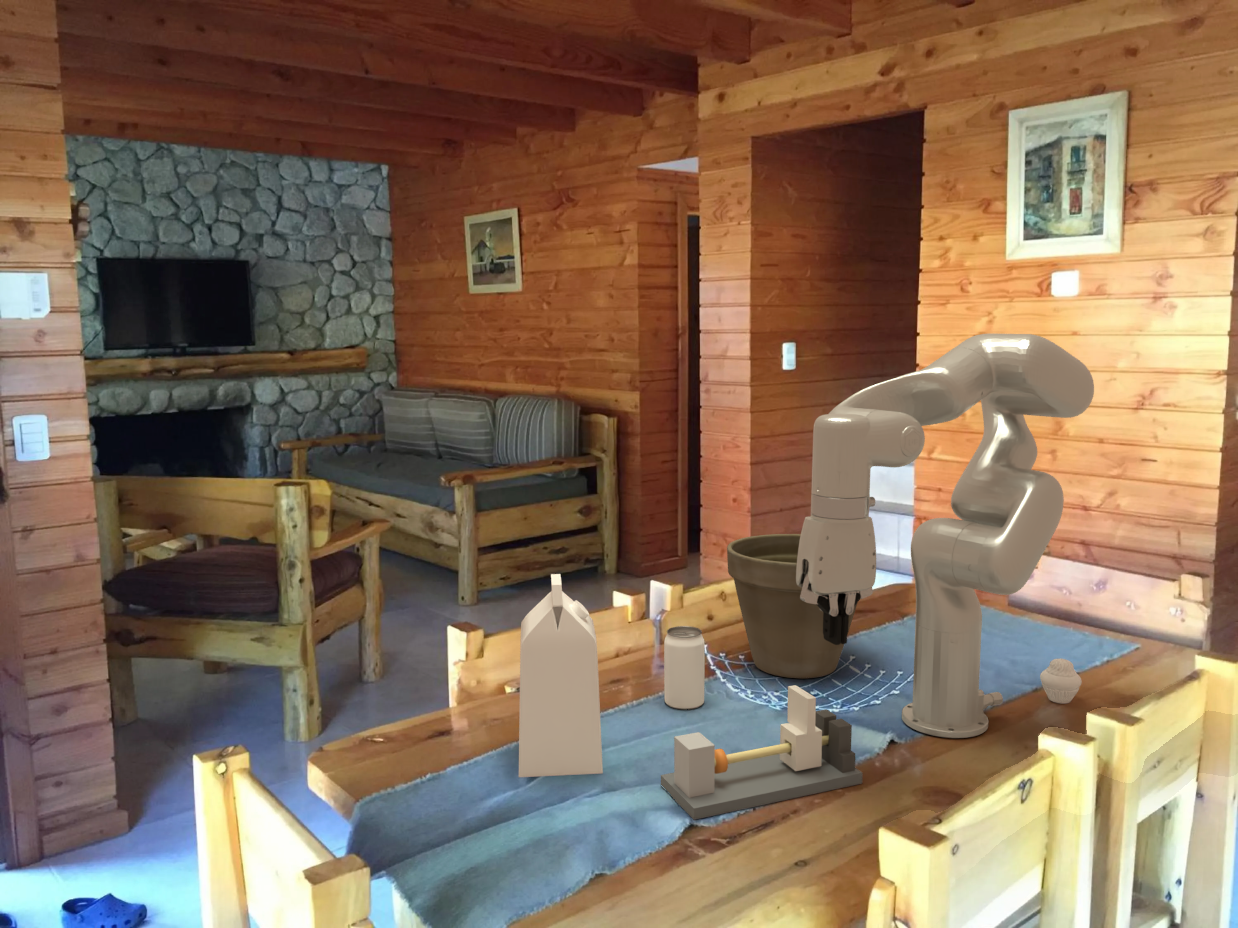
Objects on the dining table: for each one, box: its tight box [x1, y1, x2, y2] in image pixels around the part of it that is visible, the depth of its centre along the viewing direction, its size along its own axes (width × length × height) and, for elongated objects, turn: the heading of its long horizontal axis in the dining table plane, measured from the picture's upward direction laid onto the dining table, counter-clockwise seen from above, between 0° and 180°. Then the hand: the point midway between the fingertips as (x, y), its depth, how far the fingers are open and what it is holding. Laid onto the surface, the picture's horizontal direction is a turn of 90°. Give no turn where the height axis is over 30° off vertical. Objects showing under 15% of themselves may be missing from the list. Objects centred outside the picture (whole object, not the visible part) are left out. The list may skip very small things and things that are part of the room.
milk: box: [518, 573, 604, 778], centre depth 142 cm, size 12×12×26 cm
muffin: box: [1039, 658, 1082, 704], centre depth 163 cm, size 6×6×7 cm
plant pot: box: [726, 533, 858, 679], centre depth 179 cm, size 25×25×22 cm
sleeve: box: [779, 685, 822, 771], centre depth 136 cm, size 4×5×10 cm
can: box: [663, 625, 706, 711], centre depth 163 cm, size 6×6×12 cm
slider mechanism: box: [660, 708, 863, 821], centre depth 134 cm, size 25×10×8 cm, turn 112°
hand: (835, 641), depth 136 cm, fingers closed
